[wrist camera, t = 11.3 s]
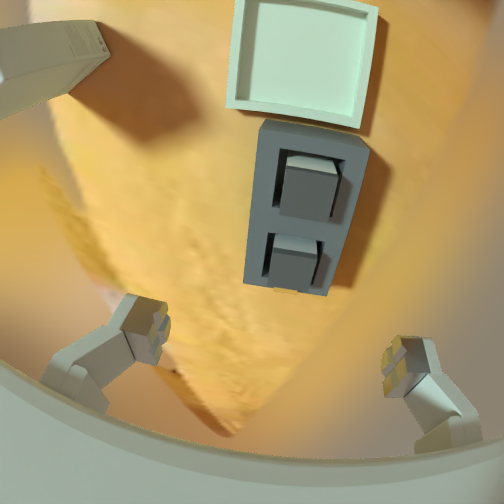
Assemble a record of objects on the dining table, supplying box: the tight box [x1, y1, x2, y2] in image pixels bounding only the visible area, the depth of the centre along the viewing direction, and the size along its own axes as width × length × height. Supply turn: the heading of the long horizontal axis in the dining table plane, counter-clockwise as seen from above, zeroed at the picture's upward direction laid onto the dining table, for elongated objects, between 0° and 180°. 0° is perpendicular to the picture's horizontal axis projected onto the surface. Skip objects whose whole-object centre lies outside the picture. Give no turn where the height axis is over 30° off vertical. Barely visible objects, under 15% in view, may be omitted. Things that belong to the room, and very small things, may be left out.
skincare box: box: [0, 20, 111, 120], centre depth 17 cm, size 8×6×15 cm
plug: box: [279, 149, 338, 223], centre depth 25 cm, size 4×4×6 cm
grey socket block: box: [243, 119, 370, 296], centre depth 28 cm, size 16×9×6 cm, turn 175°
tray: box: [225, 0, 379, 129], centre depth 21 cm, size 12×12×2 cm
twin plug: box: [267, 233, 317, 292], centre depth 29 cm, size 4×4×6 cm
